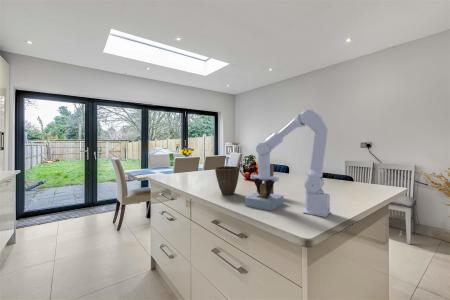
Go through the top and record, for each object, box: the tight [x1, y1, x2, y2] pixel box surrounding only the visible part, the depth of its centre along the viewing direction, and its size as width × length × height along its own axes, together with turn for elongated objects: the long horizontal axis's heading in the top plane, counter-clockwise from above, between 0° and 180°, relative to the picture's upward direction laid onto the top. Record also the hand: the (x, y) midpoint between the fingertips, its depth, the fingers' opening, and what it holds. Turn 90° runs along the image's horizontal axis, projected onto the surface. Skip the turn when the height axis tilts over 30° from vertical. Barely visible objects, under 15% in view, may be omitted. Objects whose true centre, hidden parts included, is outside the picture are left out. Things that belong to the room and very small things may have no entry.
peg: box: [260, 182, 268, 199], centre depth 101 cm, size 4×4×8 cm
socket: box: [244, 191, 284, 212], centre depth 101 cm, size 14×14×4 cm
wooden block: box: [256, 163, 275, 194], centre depth 119 cm, size 9×4×18 cm, turn 65°
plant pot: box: [214, 166, 240, 196], centre depth 124 cm, size 15×15×16 cm
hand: (264, 194), depth 101 cm, fingers closed on peg, 4 cm apart
